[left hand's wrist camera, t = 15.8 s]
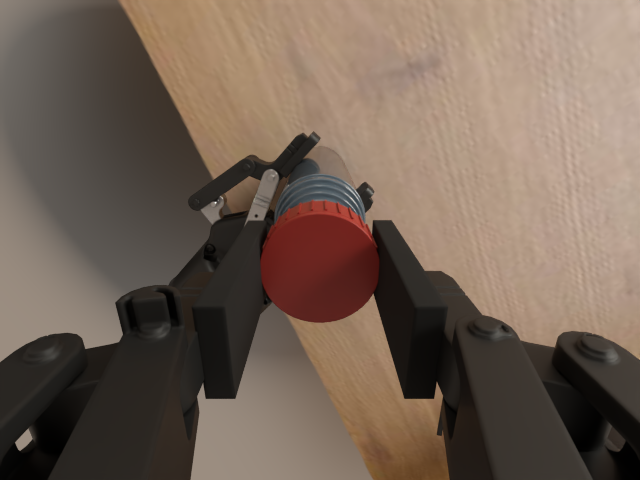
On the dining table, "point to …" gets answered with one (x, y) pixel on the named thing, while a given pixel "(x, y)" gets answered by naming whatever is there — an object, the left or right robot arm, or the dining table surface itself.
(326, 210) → the cap
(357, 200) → the bottle
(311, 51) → the dining table surface
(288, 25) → the dining table surface
